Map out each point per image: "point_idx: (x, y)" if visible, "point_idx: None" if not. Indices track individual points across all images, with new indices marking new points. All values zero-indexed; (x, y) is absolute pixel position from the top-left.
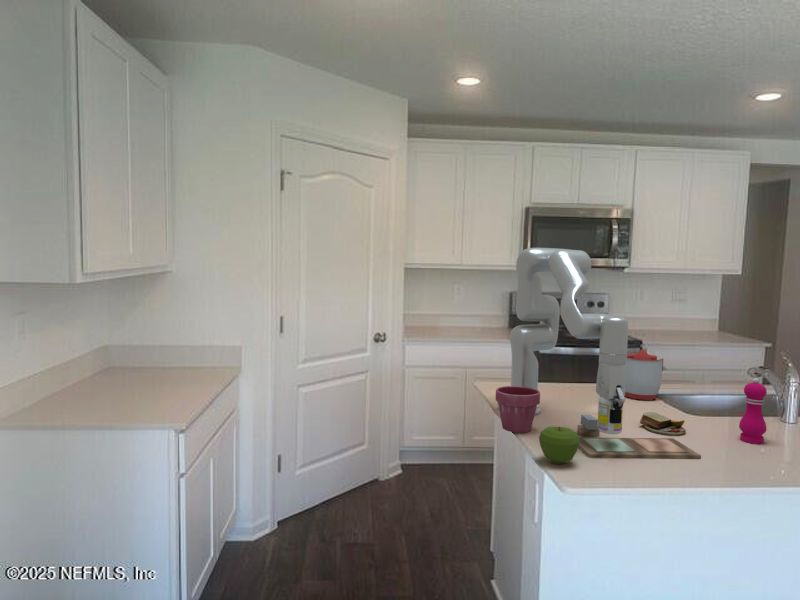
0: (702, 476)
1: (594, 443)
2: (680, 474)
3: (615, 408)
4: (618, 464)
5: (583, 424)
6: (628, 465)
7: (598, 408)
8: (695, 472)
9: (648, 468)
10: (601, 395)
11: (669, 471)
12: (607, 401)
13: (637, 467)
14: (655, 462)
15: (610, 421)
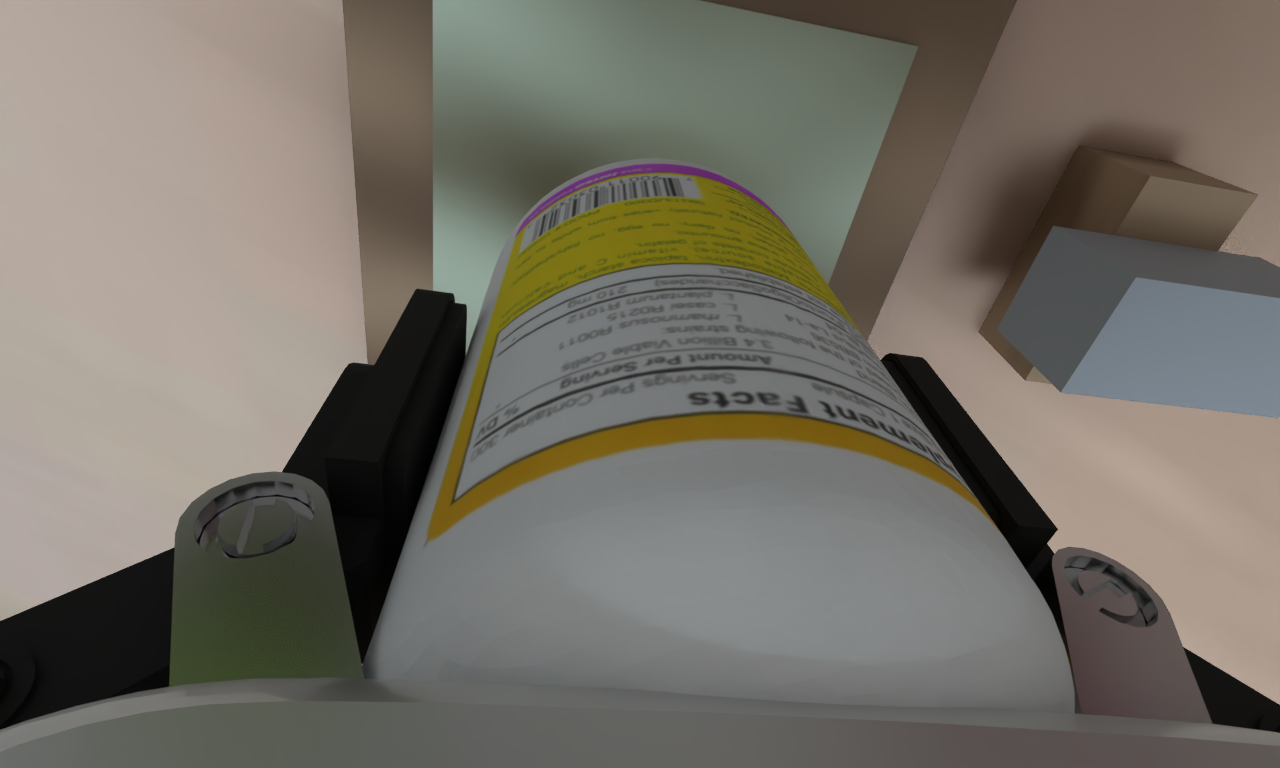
0: (37, 539)
1: (713, 90)
2: (26, 440)
3: (159, 557)
4: (148, 40)
5: (1197, 253)
6: (142, 140)
7: (821, 333)
8: (113, 540)
9: (103, 285)
10: (865, 743)
11: (76, 403)
12: (436, 620)
13: (102, 199)
14: (286, 416)
15: (410, 302)
